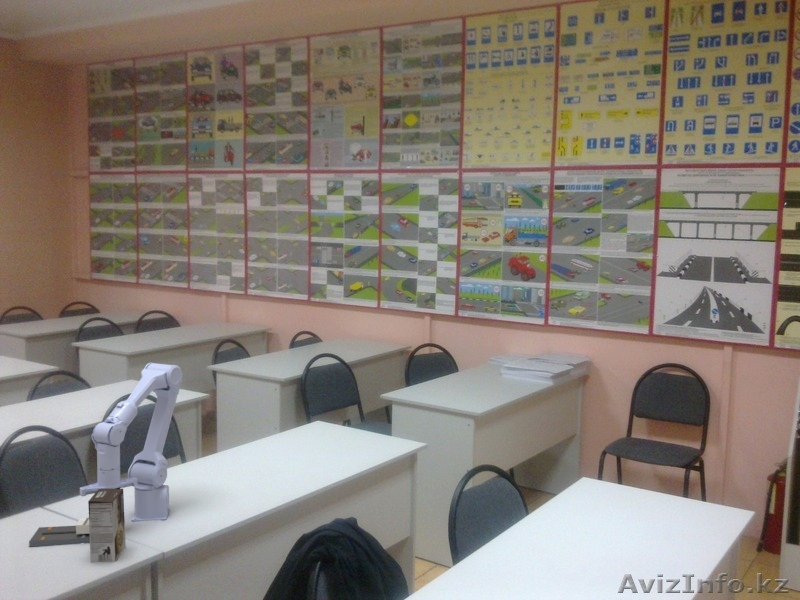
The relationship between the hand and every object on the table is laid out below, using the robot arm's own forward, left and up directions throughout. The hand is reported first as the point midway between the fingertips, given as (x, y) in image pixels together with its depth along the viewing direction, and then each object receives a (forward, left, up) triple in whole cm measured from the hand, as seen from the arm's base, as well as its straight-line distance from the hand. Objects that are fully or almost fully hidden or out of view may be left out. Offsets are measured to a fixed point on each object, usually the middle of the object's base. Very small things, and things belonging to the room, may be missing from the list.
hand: (109, 516), depth 203 cm
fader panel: (+11, 0, -5) cm, 12 cm away
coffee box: (-2, +13, -6) cm, 14 cm away
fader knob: (+6, 0, -4) cm, 7 cm away
